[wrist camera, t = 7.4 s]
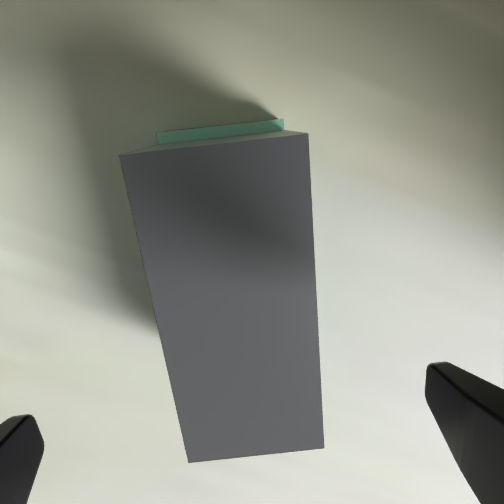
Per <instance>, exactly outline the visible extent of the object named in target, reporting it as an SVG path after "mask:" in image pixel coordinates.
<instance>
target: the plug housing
mask: <svg viewBox="0 0 504 504" xmlns="http://www.w3.org/2000/svg"><path fill="white" fill-rule="evenodd" d="M119 158H120V162H121V167H122V171H123V176H124V180H125V184H126V189H127V193H128V198H129V202H130V206H131V211H132V215H133V220H134V224H135V229H136V233H137V237H138V242H139V246H140V251H141V255H142V260H143V264H144V268H145V273H146V277H147V282H148V286H149V290H150V295H151V299H152V304H153V308H154V313H155V317H156V321H157V326H158V330H159V335H160V339H161V344H162V348H163V352H164V357H165V361H166V366H167V370H168V374H169V379H170V383H171V388H172V392H173V397H174V401H175V405H176V410H177V414H178V419H179V423H180V428H181V432H182V436H183V441H184V445H185V450H186V454H187V458H188V463H193V462H202V461H211V460H221V459H230V458H239V457H248V456H257V455H267V454H276V453H285V452H294V451H303V450H313V449H322V448H324V434H323V415H322V395H321V375H320V356H319V336H318V316H317V296H316V277H315V257H314V237H313V218H312V198H311V178H310V159H309V139H308V133H301V132H295V131H288V130H282V131H273V132H264V133H255V134H247V135H238V136H229V137H220V138H211V139H203V140H194V141H185V142H176V143H167V144H159V145H155V146H151V147H147V148H144V149H140V150H136V151H132V152H128V153H125V154H121V155H119Z"/></svg>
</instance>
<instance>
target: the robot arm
mask: <svg viewBox="0 0 504 504" xmlns="http://www.w3.org/2000/svg"><path fill="white" fill-rule="evenodd" d="M425 397H426V401H427V403H428V406H429V408H430V410H431V412H432V414H433V416H434V418H435V420H436V422H437V424H438V426H439V428H440V430H441V432H442V434H443V436H444V438H445V440H446V442H447V444H448V446H449V448H450V451H451V453H452V455H453V457H454V459H455V461H456V462H457V464H458V466H459V468H460V470H461V472H462V473H463V475H464V477H465V479H466V480H467V482H468V484H469V485H470V487H471V489H472V490H473V492H474V493H475V495H476V497H477V498H478V500H479V502H480V503H481V504H504V389H502V388H500V387H498V386H496V385H494V384H492V383H490V382H488V381H485V380H483V379H481V378H479V377H477V376H475V375H473V374H471V373H469V372H467V371H465V370H463V369H461V368H459V367H457V366H455V365H453V364H451V363H449V362H437V363H431V364H429V365H428V366H427V370H426V383H425ZM43 452H44V441H43V438H42V435H41V433H40V430H39V428H38V425H37V423H36V420H35V418H34V417H33V416H32V415H29V414H27V415H19V416H13V417H10V418H9V419H7V420H6V421H4V422H3V423H2V424H0V504H27V501H28V498H29V495H30V492H31V489H32V486H33V483H34V480H35V477H36V474H37V471H38V468H39V465H40V462H41V459H42V456H43Z"/></svg>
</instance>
